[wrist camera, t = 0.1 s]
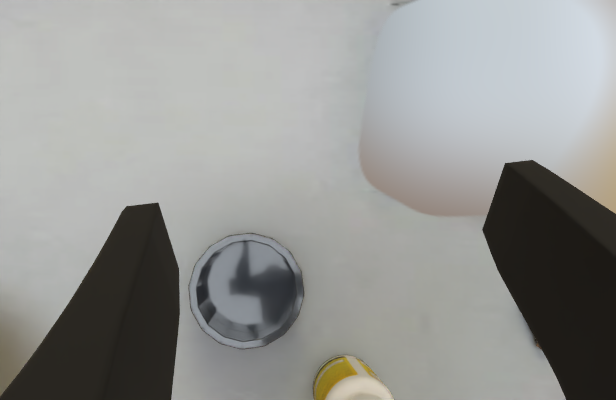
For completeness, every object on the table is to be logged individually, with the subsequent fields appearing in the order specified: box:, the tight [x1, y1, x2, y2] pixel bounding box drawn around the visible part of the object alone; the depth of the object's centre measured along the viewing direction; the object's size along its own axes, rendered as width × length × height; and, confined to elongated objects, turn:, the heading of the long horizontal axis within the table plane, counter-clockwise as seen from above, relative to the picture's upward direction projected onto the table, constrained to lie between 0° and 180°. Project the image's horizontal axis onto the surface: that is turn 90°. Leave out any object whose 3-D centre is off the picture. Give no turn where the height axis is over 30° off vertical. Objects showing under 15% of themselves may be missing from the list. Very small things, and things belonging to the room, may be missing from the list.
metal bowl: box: [189, 233, 304, 349], centre depth 39 cm, size 9×9×4 cm
